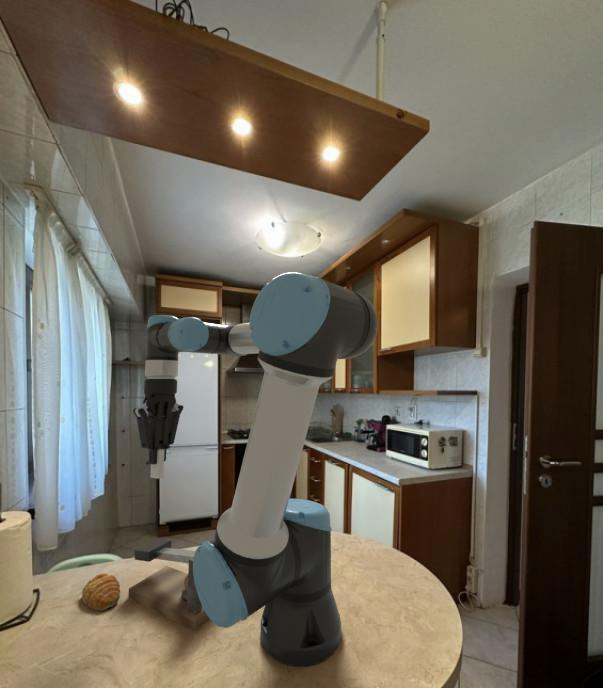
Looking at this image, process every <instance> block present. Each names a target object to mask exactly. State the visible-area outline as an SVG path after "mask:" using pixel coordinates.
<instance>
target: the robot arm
mask: <svg viewBox="0 0 603 688" xmlns="http://www.w3.org/2000/svg"><path fill="white" fill-rule="evenodd" d="M146 326H147V327H146V329H145V332H146V341H145V342H146V343H145V345H146V346H145V361H144V362H145V366H144V368H145V369H144V376H145V377H146V379H144V382H143V384H144V385H143V393H144V399H143V401H142V405H140V406H139V407H135V408H133V410H132V412H133V415H134V416H135V418H136V421H137V427H138V428H137V429H138V433H139V439H140V446H141V448H142V449H146V450H148V464H149V465H150V475H149V477H150V478H151V479H152V478H153V479H157V480H160V479H161V478H164V470H165V469H164V466H165V462H166V460H167V450H169V449H170V448H171V446H170V445H173V444H175V439H176V434H177V430H178V425H179V423H180V422H179V421H180V416H181V414H182V411H183V410H184V405H182V404H179V403H177V399H176V394H177V392H178V380H177V379H176V377H178V375H179V374H178V373H179V354H180V353H192V354H193V353H194V354H196V353H197V354H209V355H213V354H214V355H223V356H224V355H225V356H233V357H240V356H243V357H244V356H247V355H251V354H257V361H258V362H259V364H260V365H261V367H262V369H263V371H264V374H263V378H262V381H261V385H260V390H259V393H258V398H257V402H256V405H255V410H254V414H253V417H252V419H253V420H252V422H251V426H250V430H249V435H248V438H247V443H246V447H245V451H244V455H243V459H242V463H241V467H240V472H239V476H238V479H237V484H236V488H235V492H234V495H233V500H232V505H231V507H229V508H228V509H226V510H225V511H223V513H222V514H221V516H220V517H219V519H218V520H217V526H216V530H215V533H214V536H213V538H212V539H211V540H210V541H208V540H207V541H204V542H203V543H202V544H201V545H199V546H198V547H197V548H196V549H195V550H194V551H195V554H194V558H193V576H194V582H195V586H196V590H197V594H198V597H199V600H200V602H201V604H202V606H203V609H204V610H205V612H206V614H207V615H208V617H209V619H210V621H211V622H212V623H213V624H215V625H216V626H217V627H220V628H226V629H227V628H230V627H232V626H234V625H236V624H237V623H240V622H241V621H242V622H243V621H246V620H247V619H248V617H250V616H252V615H253V614H255V613H256V612H258V611H259V610H260V609H262V608H263V611H262V614H261V619H260V641H261V645H262V647H263V649H264V650H265V651H266V652H267V654H268V655H270V657H271V658H273V659H275V660H276V661H278V662H280V663H282V664H286V665H289V666H295V667H307V666H312V665H315V664H319V663H321V662H323V661H326V660H327V659H329V658H330V657H331V656H332V655H333V654H334V653H335V652H336V650H337V649H338V647H339V645H340V644H341V641H342V622H341V619H342V618H341V614H340V613H339V612H340V611H339V609H338V606H337V602H336V599H335V596H334V592H333V589H332V544H331V543H332V539H331V537H332V536H331V534H332V532H331V531H332V527H331V516H330V512H329V510H328V509H327V507H326V506H325V505H323V504H321V503H318V502H316V501H312V500H310V499H309V500H308V499H303V498H302V499H301V498H290V497H291V494H292V491H293V487H294V482H295V479H296V475H297V473H298V468H299V465H300V460H301V457H302V453H303V449H304V446H305V441H306V438H307V434H308V429H309V427H310V423H311V418H312V416H313V415H312V414H313V411H314V409H315V404H316V400H317V397H318V393H319V389H320V387H321V385H322V384H324V383H326V382H328V381H329V380H331V379H332V378H333V376H334V373H335V370H336V365H337V362H338V360H349V359H353V358H356V357H359V356H360V355H363V354H364V353H365V352H367V351H368V350H369V349H370V347H371V346H372V345H373V344H374V342H375V340H376V337H377V335H378V331H379V320H378V315H377V311H376V309H375V308H374V306H373V305H372V303H371V302H370V300H369V299H368V298H367V297H365V296H364V295H362V294H361V293H359V292H357V291H354V290H352V289H348V288H346V287H343V286H341V285H337V284H336V283H333V282H330V281H327V280H326V279H322V278H320V277H317V276H314V275H309V274H304V273H300V272H294V271H291V272H284V273H282V274H279V275H277V276H276V277H274V278H272V280H270V282H267V283H266V284H265V285H264V286H263V288H261V290H260V291H259V292H258V295H257V296H256V297H255V300H254V302H253V305H252V308H251V310H250V316H249V322H245V323H238V324H232V325H231V324H230V325H224V324H217V323H211V322H205V321H202V319H200V318H197V317H194V316H189V317H187V316H185V317H182V318H178V317H176V316H173V315H170V314H169V315H167V314H156V315H151V316H150V317H149V318H148V320H147V325H146Z"/></svg>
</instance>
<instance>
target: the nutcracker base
mask: <svg viewBox="0 0 603 688" xmlns="http://www.w3.org/2000/svg"><path fill="white" fill-rule="evenodd" d="M193 558H194V557H192V558H190V559H189V563H188V569H187V570H188V571H187V572H188V573H187V572H184V571H182V570H179V569H176V568H173V567H171V566H168V565H166V566H164V567H162V568H160V569H159V570H157V571H156V572H154V573H152V574H151V575H149V576H147V577H145V578H144V579H142V580H141V581H139V582H137V583H136V584H134V585H132V586H131V587H129V588H128V595H127V597H128V598H127V599H129V598H130V599H129V600H131V599H132V600H131V601H133V600H134V601H133V602H135V601H136V602H135V603H137V602H138V603H137V604H139V603H140V604H139V605H141V604H142V605H141V606H143V605H144V606H143V607H145V606H146V607H145V608H147V607H148V608H147V609H149V610H151V611H153V610H154V612H155V613H158V614H160V615H162V616H164V617H166V618H168V619H170V620H172V621H174V622H177V623H178V624H181V625H182V626H185V627H187V628H188V629H190V630H193V631H196V630H197V629H199V628H200V627H201V626H202V625H203V624H205V622H207V621H208V620H209V619H210V618H209V617H208V615H207V614H206V612H205V610H204V609H203V606H202V604H201V602H200V600H199V597H198V594H197V590H196V586H195V582H194V576H193Z"/></svg>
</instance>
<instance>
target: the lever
mask: <svg viewBox="0 0 603 688" xmlns="http://www.w3.org/2000/svg"><path fill="white" fill-rule="evenodd" d="M195 551H196V550H191V549H181V548H172V539H171V540H169V539H161V538H155V540H153V541H151V542H148V543H145V544H144V545H142V546H140V547H138V548H136V549H135V550H134V560H135V561H143V562H147V563H150V562H152V561H153V560H163V561H170V562H175V563H182V564H189V559H190V558H192V557H194V554H195Z"/></svg>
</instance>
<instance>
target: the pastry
mask: <svg viewBox="0 0 603 688" xmlns="http://www.w3.org/2000/svg"><path fill="white" fill-rule="evenodd" d="M120 588H121V584H120V583H119V581H118V579H117V577H116V576H115V575H113V574H111V575H109V574H108V573H106V572H105V573H99V574H97V575H95V576H93V578H91V579H89V581H87V582H86V584H85V585H84V587H83V588H82V596H81V599H82V601H83V603H84V605H86V606H87V607H88V608H91V609H93V610H95V611H101V612H102V611H104V610H107V609H108V608H111V607H113V606H115V605H116V604H117V603H118V601H119V600H120V598H121V589H120Z"/></svg>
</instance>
